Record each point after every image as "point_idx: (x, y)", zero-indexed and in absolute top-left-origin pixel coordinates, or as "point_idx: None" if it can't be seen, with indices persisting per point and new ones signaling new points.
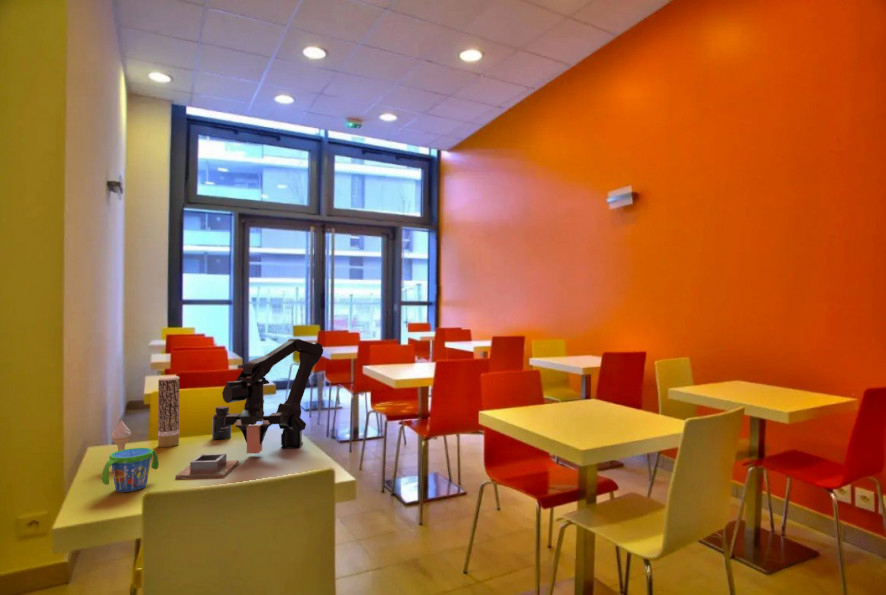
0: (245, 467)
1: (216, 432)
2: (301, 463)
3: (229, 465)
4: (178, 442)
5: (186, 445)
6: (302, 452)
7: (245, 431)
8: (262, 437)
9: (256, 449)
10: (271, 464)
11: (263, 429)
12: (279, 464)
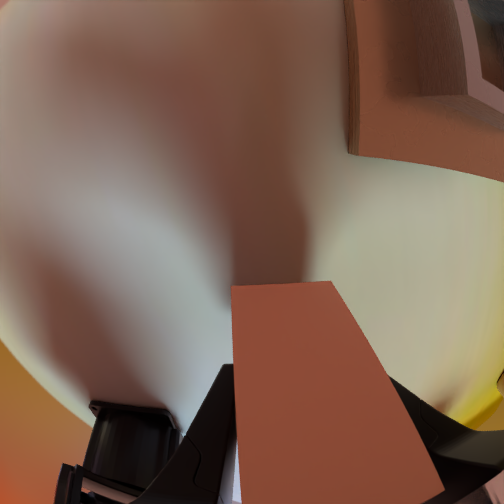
0: (265, 42)
1: None
2: None
3: (382, 35)
4: (501, 381)
5: (489, 379)
6: (39, 345)
7: (427, 437)
8: (202, 412)
9: (254, 303)
10: (85, 115)
11: (172, 500)
12: (40, 123)
